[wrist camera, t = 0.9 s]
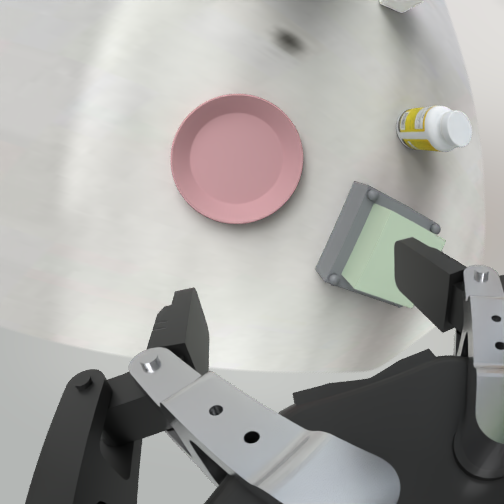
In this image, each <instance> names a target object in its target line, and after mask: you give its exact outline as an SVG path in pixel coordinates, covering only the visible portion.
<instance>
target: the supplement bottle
mask: <svg viewBox="0 0 504 504" xmlns="http://www.w3.org/2000/svg"><path fill="white" fill-rule="evenodd" d="M396 128H397V134H398V136H399V139H400V140H401V142H402V143H403V144H404V145H405V146H406V147H408V148H410V149H415V150H428V151H440V152H448V151H451V150H453V149H454V148H456V147H465V146H466V145H468V144H469V142H470V140H471V137H472V127H471V123H470V121H469V119H468V117H467V116H466V115H465V114H464V113H463V112H461V111H452V110H451V109H449V108H448V107H445V106H430V107H422V108H414V109H408V110H406V111H404V112H402V113H401V114H400V116H399V117H398V120H397V125H396Z"/></svg>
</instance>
